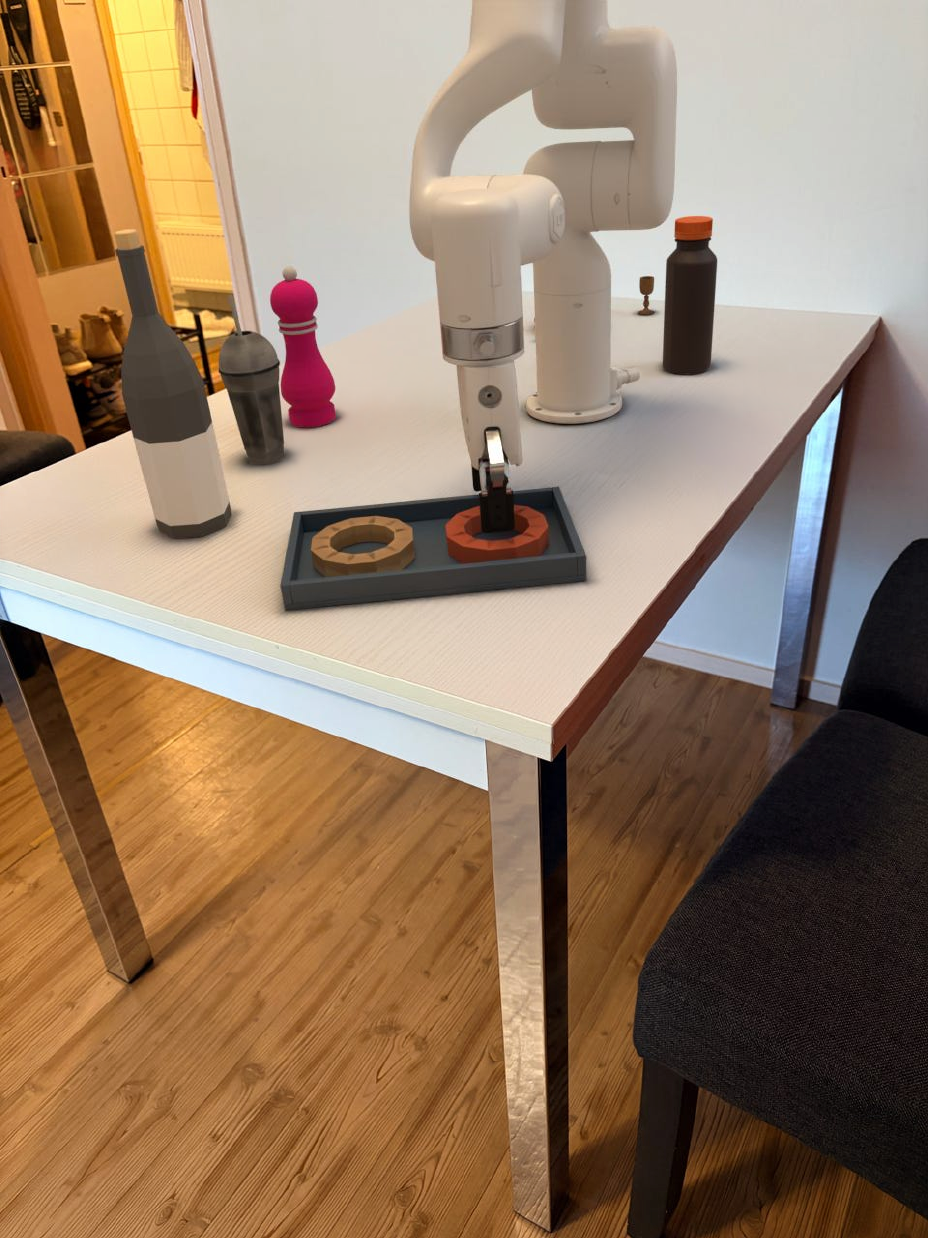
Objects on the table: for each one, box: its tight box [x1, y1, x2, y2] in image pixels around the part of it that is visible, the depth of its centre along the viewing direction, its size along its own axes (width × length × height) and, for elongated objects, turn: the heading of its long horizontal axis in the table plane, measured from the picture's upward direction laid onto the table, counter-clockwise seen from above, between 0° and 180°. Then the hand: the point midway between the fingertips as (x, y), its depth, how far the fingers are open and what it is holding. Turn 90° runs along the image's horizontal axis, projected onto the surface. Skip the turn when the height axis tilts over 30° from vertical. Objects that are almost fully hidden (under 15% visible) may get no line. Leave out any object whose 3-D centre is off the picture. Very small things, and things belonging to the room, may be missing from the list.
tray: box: [280, 486, 587, 611], centre depth 93 cm, size 28×16×3 cm, turn 94°
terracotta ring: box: [445, 505, 549, 564], centre depth 93 cm, size 10×10×2 cm
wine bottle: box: [113, 228, 232, 540], centre depth 97 cm, size 8×8×30 cm
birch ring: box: [311, 516, 415, 577], centre depth 93 cm, size 10×10×2 cm
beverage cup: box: [218, 294, 286, 466], centre depth 114 cm, size 7×7×20 cm
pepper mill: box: [269, 265, 337, 429], centre depth 125 cm, size 7×7×20 cm
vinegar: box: [662, 215, 718, 375], centre depth 132 cm, size 7×7×20 cm
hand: (493, 508), depth 96 cm, fingers open, 9 cm apart
